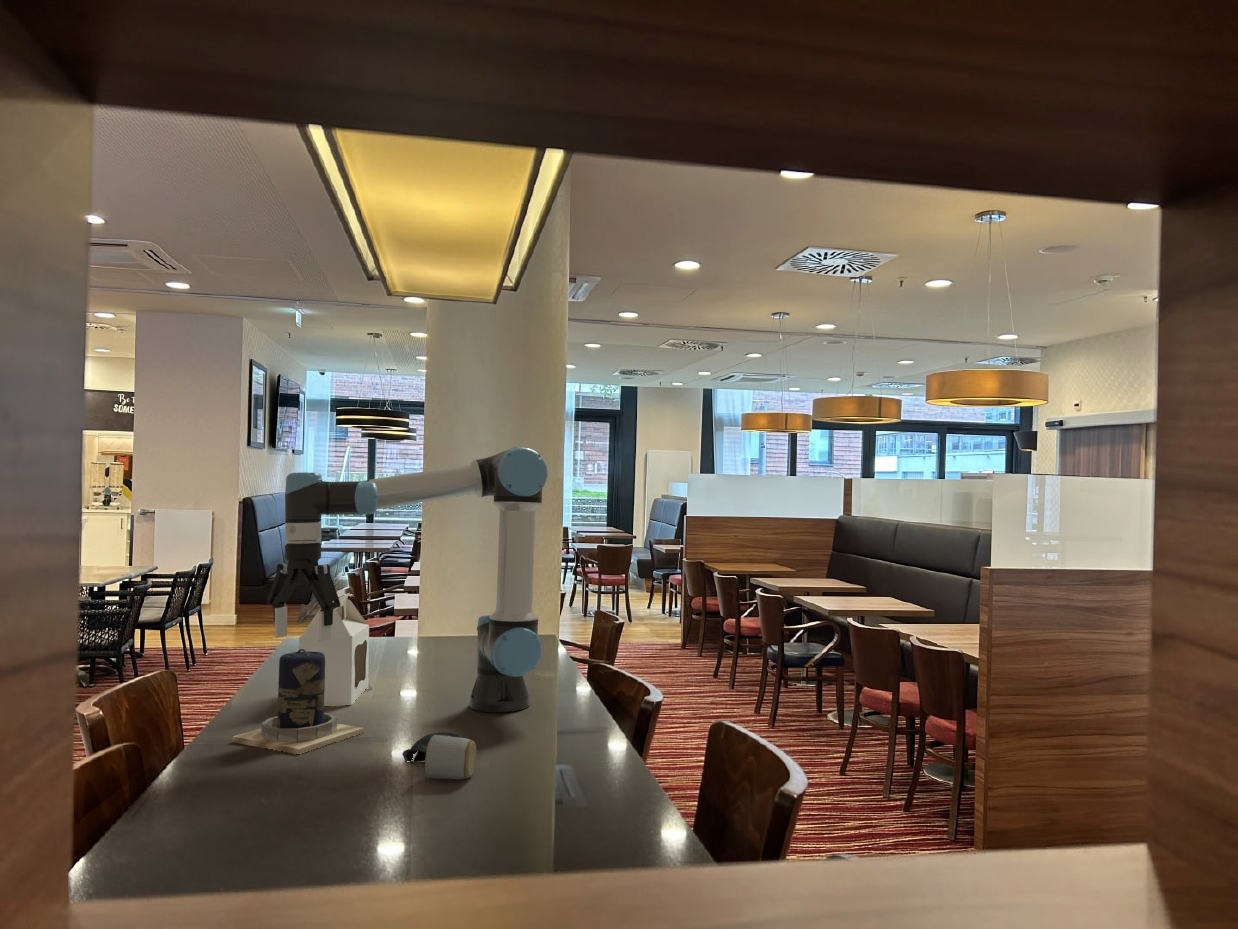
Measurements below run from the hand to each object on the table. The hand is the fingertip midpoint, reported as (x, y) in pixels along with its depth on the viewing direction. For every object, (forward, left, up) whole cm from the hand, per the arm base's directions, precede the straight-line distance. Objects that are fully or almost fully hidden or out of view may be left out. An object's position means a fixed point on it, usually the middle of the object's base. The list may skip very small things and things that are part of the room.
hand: (302, 639), depth 181 cm
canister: (0, 0, -20) cm, 20 cm away
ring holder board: (0, 0, -21) cm, 21 cm away
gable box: (+23, -32, -22) cm, 45 cm away
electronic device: (-33, -5, -22) cm, 40 cm away
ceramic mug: (-46, +5, -22) cm, 51 cm away
